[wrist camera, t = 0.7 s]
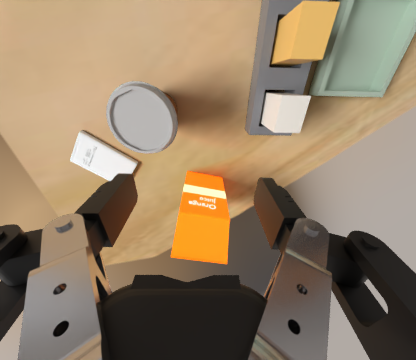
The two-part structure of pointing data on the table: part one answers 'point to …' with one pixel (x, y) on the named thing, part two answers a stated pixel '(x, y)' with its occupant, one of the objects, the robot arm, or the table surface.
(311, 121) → the table surface
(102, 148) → the external hard drive
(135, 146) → the disposable coffee cup
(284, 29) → the tan rectangular block
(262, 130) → the rack
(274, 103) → the fuse
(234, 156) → the table surface
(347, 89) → the tray
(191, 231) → the orange juice
